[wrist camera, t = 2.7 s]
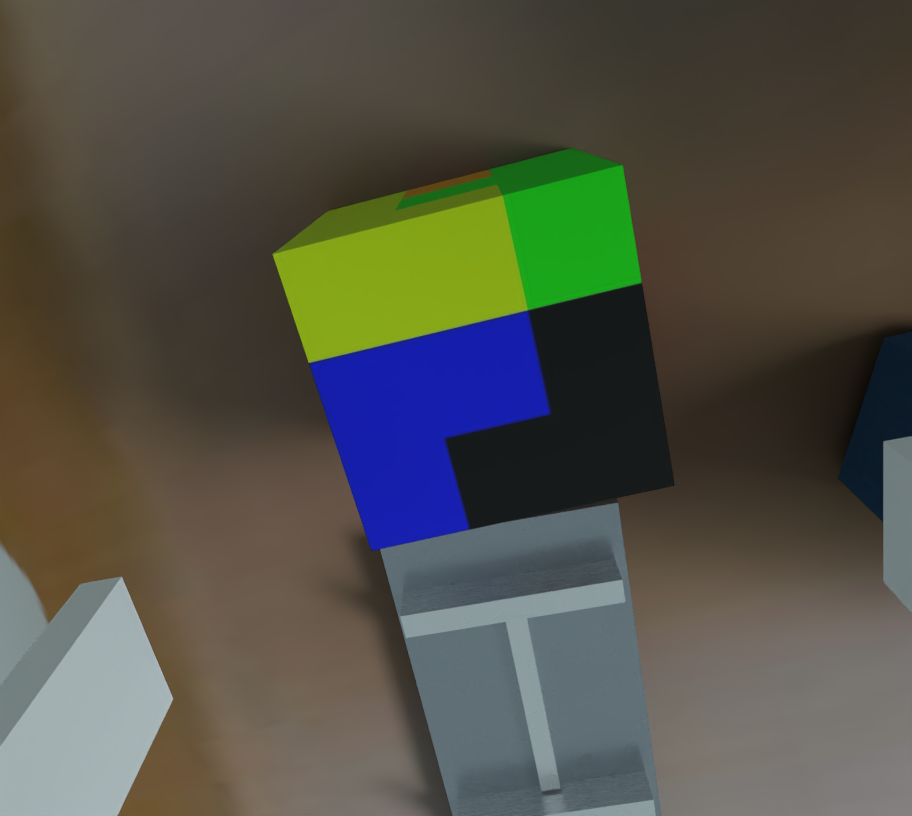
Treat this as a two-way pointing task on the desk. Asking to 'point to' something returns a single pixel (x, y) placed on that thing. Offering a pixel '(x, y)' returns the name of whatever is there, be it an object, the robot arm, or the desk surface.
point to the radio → (880, 421)
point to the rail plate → (529, 665)
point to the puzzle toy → (482, 347)
